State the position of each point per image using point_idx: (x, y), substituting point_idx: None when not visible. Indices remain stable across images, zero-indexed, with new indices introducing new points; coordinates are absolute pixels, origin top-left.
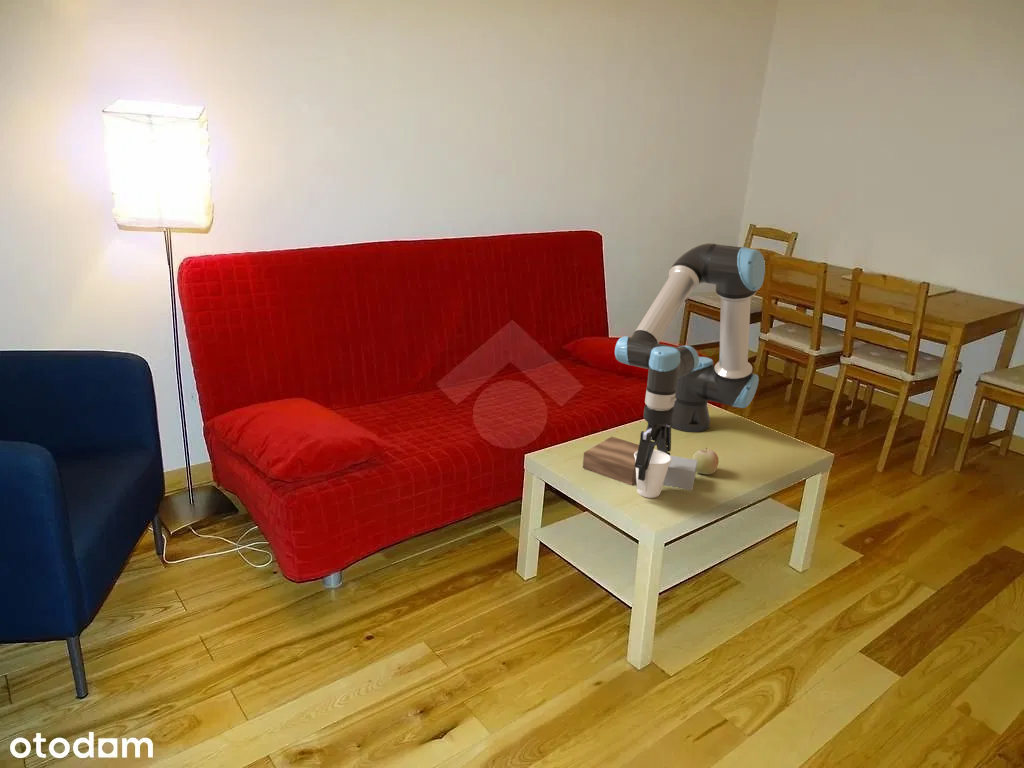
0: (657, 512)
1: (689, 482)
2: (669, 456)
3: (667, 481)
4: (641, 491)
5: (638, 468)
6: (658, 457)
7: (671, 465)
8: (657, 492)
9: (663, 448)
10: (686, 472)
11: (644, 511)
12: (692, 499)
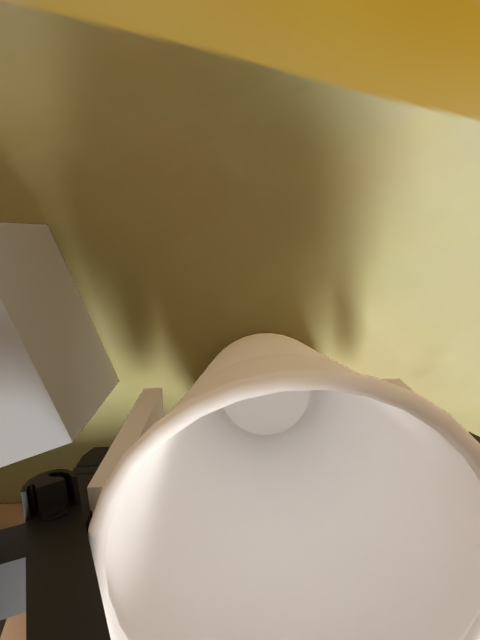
0: (433, 247)
1: (31, 246)
2: (151, 449)
3: (100, 370)
4: (336, 413)
5: (414, 547)
6: (131, 534)
7: (20, 414)
8: (292, 339)
9: (102, 602)
10: (6, 281)
11: (466, 305)
12: (149, 167)
